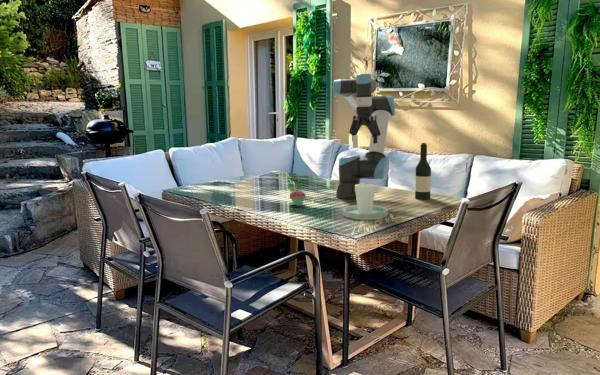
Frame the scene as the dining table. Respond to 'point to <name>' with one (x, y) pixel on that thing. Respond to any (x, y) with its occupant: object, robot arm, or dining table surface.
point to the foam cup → (365, 197)
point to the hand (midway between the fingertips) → (364, 149)
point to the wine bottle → (423, 176)
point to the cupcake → (297, 197)
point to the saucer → (376, 213)
